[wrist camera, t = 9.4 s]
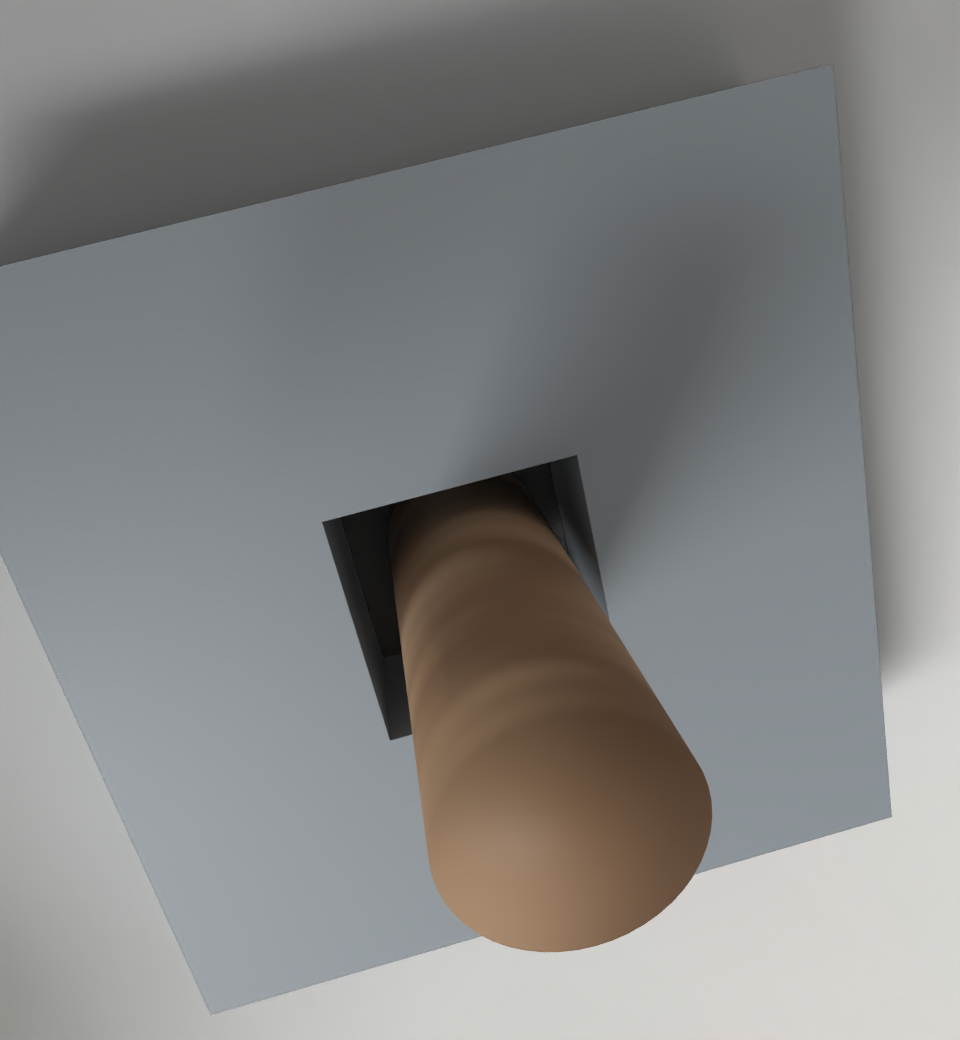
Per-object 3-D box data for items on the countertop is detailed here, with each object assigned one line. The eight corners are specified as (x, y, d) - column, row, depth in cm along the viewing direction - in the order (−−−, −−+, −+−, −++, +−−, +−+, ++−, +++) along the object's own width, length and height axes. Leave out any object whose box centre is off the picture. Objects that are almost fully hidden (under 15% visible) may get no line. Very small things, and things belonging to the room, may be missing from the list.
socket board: (229, 899, 27) (210, 1014, 23) (-32, 276, 20) (-118, 294, 16) (817, 732, 27) (892, 816, 24) (746, 86, 21) (832, 63, 17)
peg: (407, 621, 24) (461, 982, 13) (371, 481, 23) (397, 754, 12) (552, 585, 25) (726, 909, 13) (525, 444, 23) (693, 676, 12)
